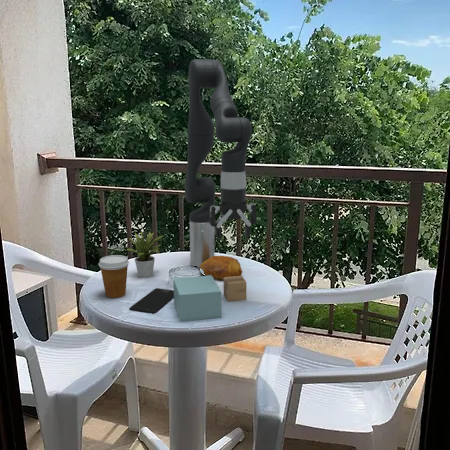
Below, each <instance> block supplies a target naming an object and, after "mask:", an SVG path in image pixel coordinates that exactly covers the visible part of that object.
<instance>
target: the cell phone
mask: <svg viewBox="0 0 450 450" xmlns="http://www.w3.org/2000/svg"><path fill="white" fill-rule="evenodd" d="M172 300H174V289H167V288H157V287H156V288H154V289H152V290H151V291H150V292H149V293H147V294H146V295H145V296H144V297H142V298H141V299H140V300H137V302H135V303H134V304H132V305H131V306H130V307H129V309H128V310H129V311H131V312H139V313H147V314H151V313H152V314H153V315H155V314H154V313H156V314H158V312H160V311H161V309H163V308H164V307H165V306H166V305H168V304H169V303H170V302H171V301H172ZM152 314H151V315H152Z"/></svg>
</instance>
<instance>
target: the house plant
mask: <svg viewBox="0 0 450 450" xmlns="http://www.w3.org/2000/svg"><path fill="white" fill-rule="evenodd" d="M154 234H155V232H151V231H149V233H148V235H147V237H146V238H145V237H144V235H143V231H140V236H139V235H138V234H137V233H136V232H134V236H135V239H134V240H133V239H132V238H130V237H128V239H129V241H131V242H132V243H133V245H134V246H135V248H134V249H133V248H127V249H126V251H132V252H134V253H136V254H137V257H135V258H134V263H135V267H136V271H137V276H138V277H139V278H141V279H142V278H144V279H145V278H150V277H153V274H154V267H155V266H154V265H155V256H152V255H153V254H154V253H155V252H156V253H158V254H160V251H159V250H160V249H161V248H159V247H160V246H162V244H159V245H155V243H157V242H160V241H162V240H163V239H162V238H163V237H164V236H165V235H160V236H158V237H156V238H154V239H153V236H154ZM152 239H153V240H152Z"/></svg>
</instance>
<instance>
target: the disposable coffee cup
mask: <svg viewBox="0 0 450 450" xmlns="http://www.w3.org/2000/svg"><path fill="white" fill-rule="evenodd" d="M129 264H130V261H129V259H128V257H127V256H125V255H120V254H116V255H115V254H112V255H111V254H110V255H107V256H103V257H101V258H100V260H99V262H98V266H99V268H100V273H101V278H102V283H103V288H104V291H105V297H107V298H111V299H118V298H122V297H124V296H126V292H127V278H128V266H129Z"/></svg>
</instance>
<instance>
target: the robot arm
mask: <svg viewBox="0 0 450 450" xmlns="http://www.w3.org/2000/svg"><path fill="white" fill-rule="evenodd" d="M226 76H227V75H226V73H225V69H224V66H223V64H222V63H221V61H220V60H218V59H210V58H207V59H205V58H204V59H203V58H198V59H197V58H196V59H195V58H194V59H192V60H191V61H190V63H189V66H188V98H189V99H188V101H189V104H188V105H189V108H188V109H189V110H188V122H187V123H188V124H187V125H188V126H187V161H186V163H187V165H186V173H185V174H186V175H185V182H184V183H185V184H184V196H185V197H184V198H185V201H186V202H187V203H189V204H200V203H203V204H202V206H201V207H199V208H197V209H194V210H192V211H191V212H190V213H189V252H190V253H189V255H190V257H189V258H190V259H189V260H190V262H189V263H190V265H191V266H192V267H194V266H197V267H196V268H200V265H201V264H202V263H203V262H204V261H206V260H208V259H209V258H210V257H212V256H215V238H217V240H219V241H220V240H222V226H223V224H224V223H225V222H226V221H228V220H229V221H232V220H236V221H237V220H240V219H241V220H242V221H243V223H244V238H245V239H249V237H251V229H252V228H251V227H252V225H256V224H257V223H258V221H257V206H256V204H255V203H253V202H252V203H250V204H247V203H246V201H247V197H246V196H247V195H246V194H247V193H246V192H247V191H246V190H247V176H246V157H247V152H248V147H249V143H250V141H251V139H252V138H251V137H252V134H253V133H252V132H253V128H252V127H253V126H252V123H251V121H250V120H249V118H247V117H239V111H238V109H237V107H236V105H235V102H234V101H233V100H234V99H232V96H231V93H230V89H229V85H228V84H229V83H228V80H227V77H226ZM201 89H215V90H214V91H213V93H212V95H211V97H210V101H209V102H210V103H209V104H210V109H211V112H212V113H213V117H214V119H215V124H214V122H213V120H212V118H211V116H210V114H209V113H208V112H207V110H206V108H205V105H204V104H203V101H202V97H201ZM215 136H216V138H217V140H219V142H221V143H236V145H235V146H234V147H233V148H232V149H231V148H230V149H228V150H224V151H223V152H222V154H221V158H220V159H221V174H220V204H219V206H218V205H216V204H215V202H216V199H215V198H216V184H215V181H214V179H213V177H209V176H207V177H197V175H198V172H199V169H200V167H201V165H202V164H203V163H204V161H205V159H206V158H207V157H208V155H209V154H210V152H211V151H212V149H213V147H214V144H215V143H214V142H215ZM247 210H248V212H250V219H248V218H247V217H246V215H245V213H246V211H247ZM218 211H219V212H220V213H221V214H220V215H219V217H218V219H217V220H216V214H218Z"/></svg>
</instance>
